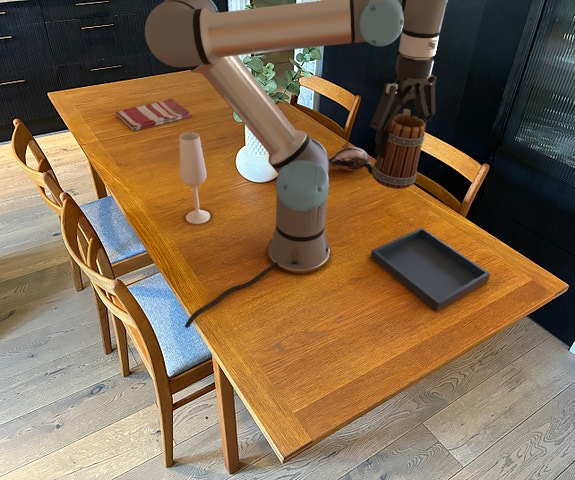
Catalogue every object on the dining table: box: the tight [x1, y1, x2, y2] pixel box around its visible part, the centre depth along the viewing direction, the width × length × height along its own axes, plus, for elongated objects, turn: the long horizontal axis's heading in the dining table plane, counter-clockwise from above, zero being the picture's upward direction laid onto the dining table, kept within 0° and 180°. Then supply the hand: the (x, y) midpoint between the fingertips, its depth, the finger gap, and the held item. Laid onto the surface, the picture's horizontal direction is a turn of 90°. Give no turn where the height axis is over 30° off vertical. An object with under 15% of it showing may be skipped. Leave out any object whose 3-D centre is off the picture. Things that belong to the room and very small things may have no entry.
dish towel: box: [115, 98, 191, 131], centre depth 178 cm, size 17×23×3 cm
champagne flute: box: [179, 131, 211, 225], centre depth 121 cm, size 7×7×24 cm
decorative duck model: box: [328, 140, 374, 175], centre depth 147 cm, size 15×8×15 cm
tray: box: [370, 227, 491, 312], centre depth 113 cm, size 18×22×2 cm
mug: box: [371, 108, 426, 190], centre depth 112 cm, size 16×11×15 cm
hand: (397, 149), depth 112 cm, fingers closed on mug, 11 cm apart
